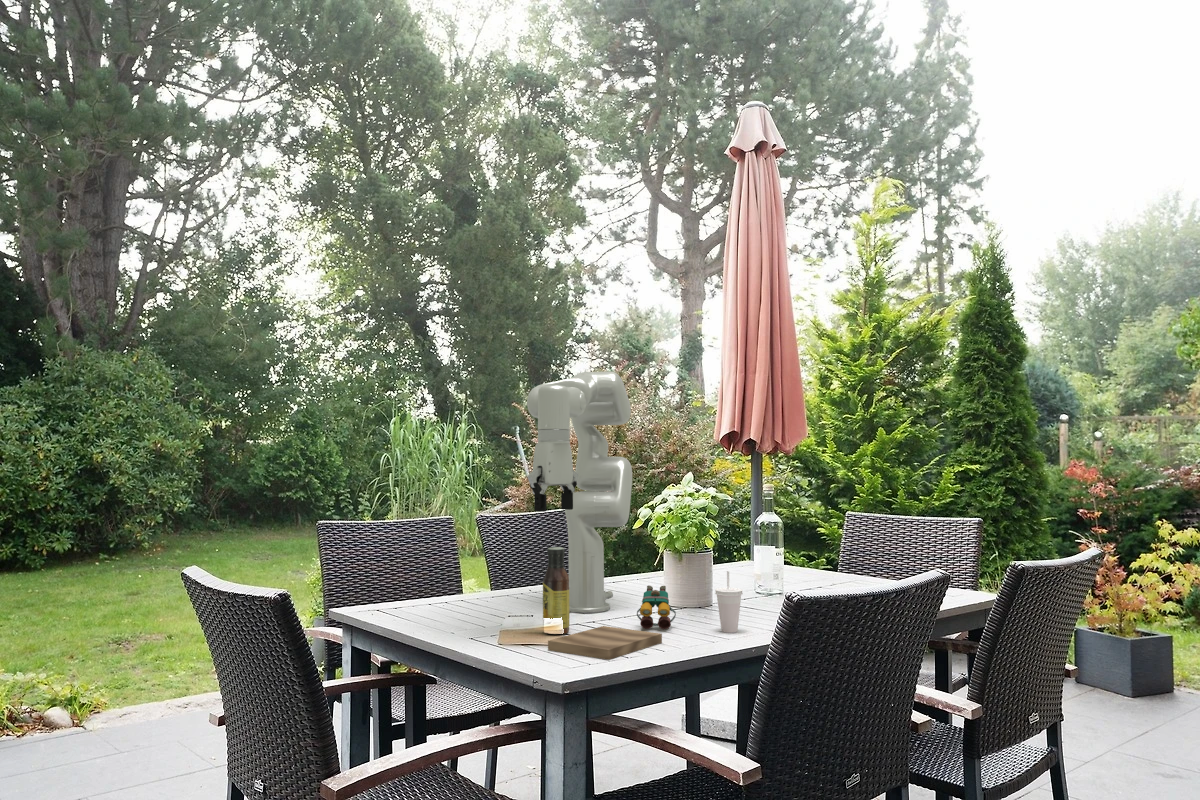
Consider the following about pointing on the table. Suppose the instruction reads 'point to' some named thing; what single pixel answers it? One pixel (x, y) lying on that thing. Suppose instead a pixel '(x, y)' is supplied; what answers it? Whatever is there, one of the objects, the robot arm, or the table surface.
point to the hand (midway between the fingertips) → (554, 510)
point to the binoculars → (664, 608)
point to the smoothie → (729, 607)
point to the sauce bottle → (556, 588)
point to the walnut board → (605, 642)
